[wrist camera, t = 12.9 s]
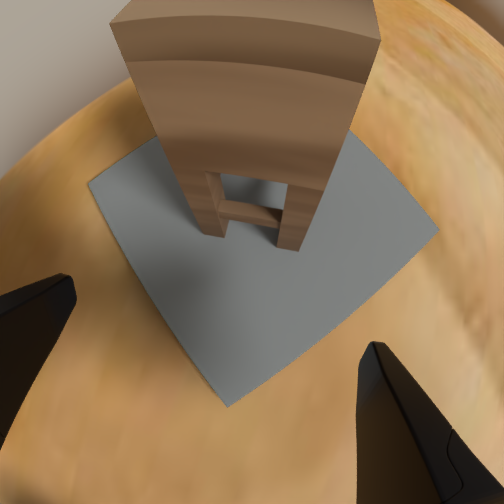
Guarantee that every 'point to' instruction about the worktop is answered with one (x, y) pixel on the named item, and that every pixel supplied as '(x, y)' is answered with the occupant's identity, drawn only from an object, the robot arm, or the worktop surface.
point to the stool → (250, 96)
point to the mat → (259, 259)
